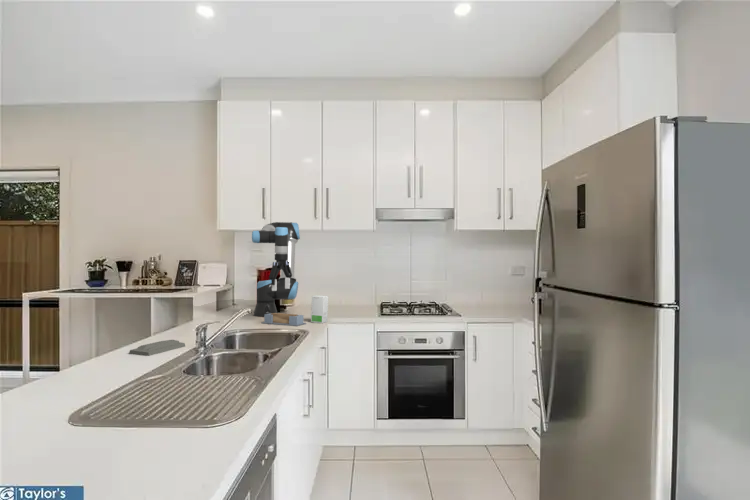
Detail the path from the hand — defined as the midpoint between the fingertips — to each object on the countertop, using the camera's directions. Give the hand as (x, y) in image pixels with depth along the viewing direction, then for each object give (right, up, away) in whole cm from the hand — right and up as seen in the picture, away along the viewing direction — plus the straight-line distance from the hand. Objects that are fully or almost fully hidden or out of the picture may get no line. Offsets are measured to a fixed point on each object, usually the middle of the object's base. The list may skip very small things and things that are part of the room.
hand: (280, 289), depth 263 cm
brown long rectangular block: (+3, -19, -5) cm, 20 cm away
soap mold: (-32, -18, -82) cm, 90 cm away
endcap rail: (+3, -19, -5) cm, 20 cm away
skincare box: (+22, -20, +3) cm, 30 cm away
